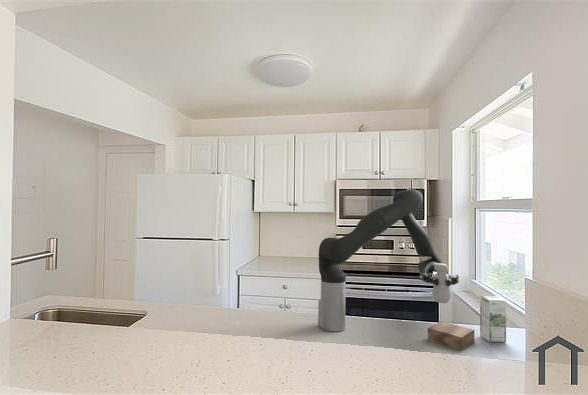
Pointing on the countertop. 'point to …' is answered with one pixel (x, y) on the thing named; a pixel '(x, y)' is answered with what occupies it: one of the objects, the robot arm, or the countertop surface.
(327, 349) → the countertop surface
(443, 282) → the salt shaker
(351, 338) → the countertop surface
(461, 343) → the wooden block
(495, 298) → the syrup box
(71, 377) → the countertop surface
